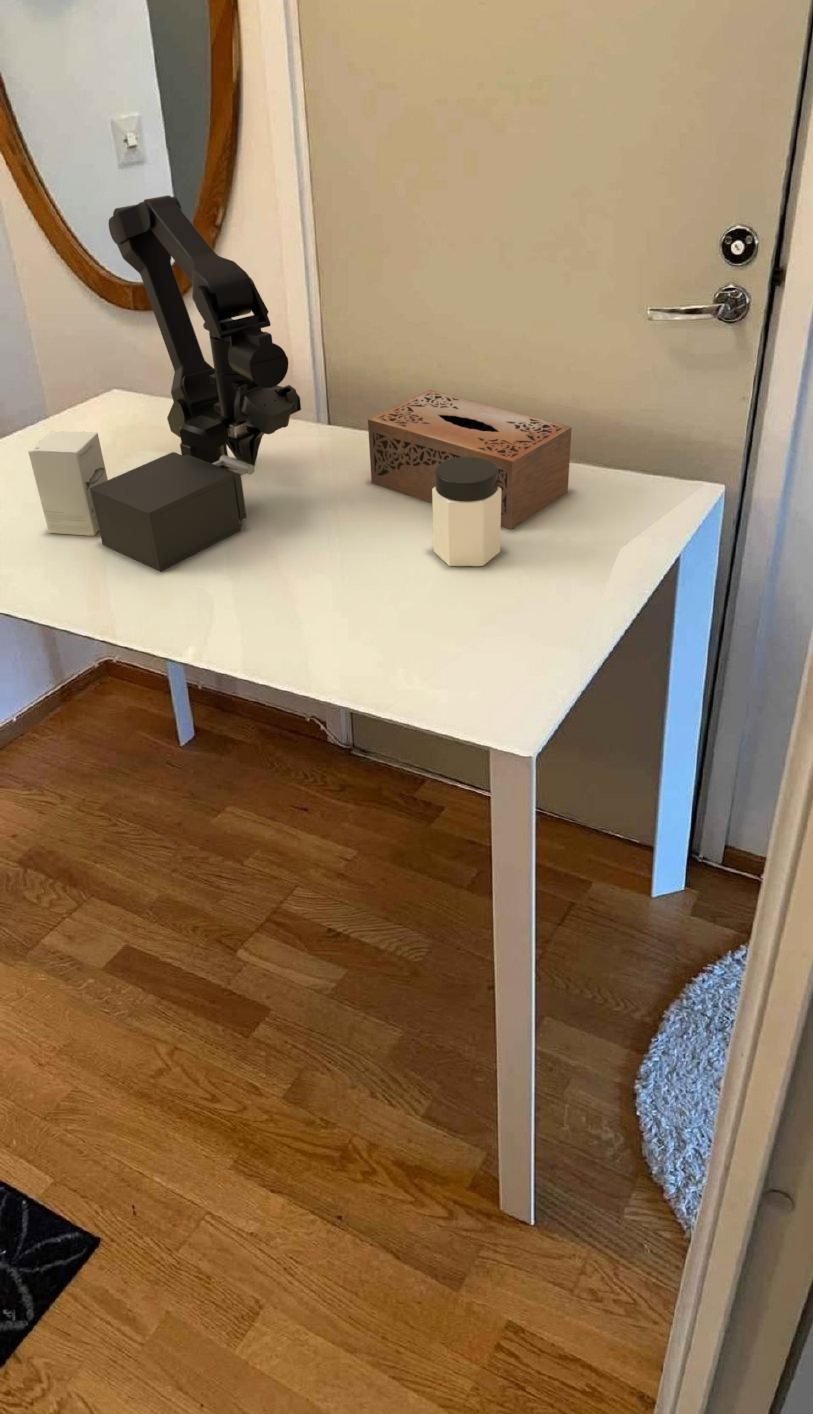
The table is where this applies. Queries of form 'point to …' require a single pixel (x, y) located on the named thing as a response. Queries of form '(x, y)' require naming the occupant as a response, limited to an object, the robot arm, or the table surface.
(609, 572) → the table surface
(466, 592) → the table surface
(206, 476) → the brown drawer box
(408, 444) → the tissue box cover
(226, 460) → the dark brown drawer
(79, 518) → the white packaging box
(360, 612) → the table surface
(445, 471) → the jar
